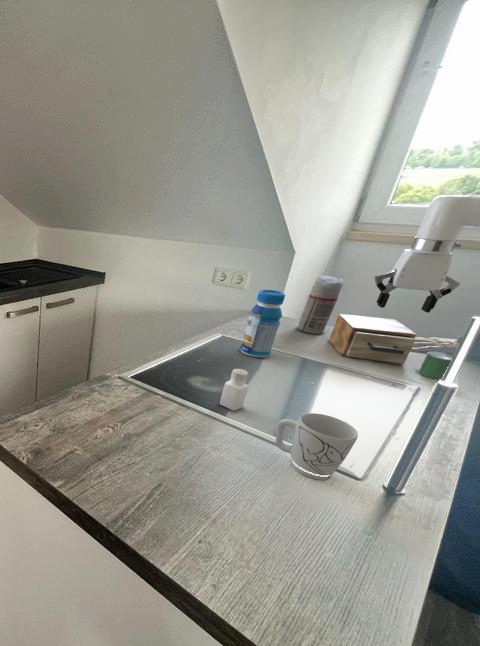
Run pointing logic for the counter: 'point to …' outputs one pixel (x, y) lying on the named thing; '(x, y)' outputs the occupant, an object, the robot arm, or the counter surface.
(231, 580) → the counter surface
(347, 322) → the cabinet
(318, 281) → the spray can
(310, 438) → the mug
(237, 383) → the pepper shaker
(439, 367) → the tin can
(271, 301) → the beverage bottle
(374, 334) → the drawer
